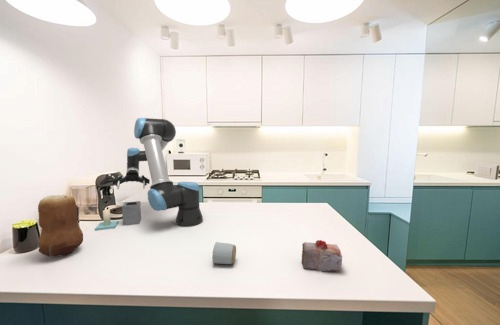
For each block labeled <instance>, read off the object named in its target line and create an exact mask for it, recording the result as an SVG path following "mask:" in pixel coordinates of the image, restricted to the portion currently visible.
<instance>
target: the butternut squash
mask: <svg viewBox="0 0 500 325" xmlns="http://www.w3.org/2000/svg"><path fill="white" fill-rule="evenodd" d="M37 212H38V225H39V227H40V229H41V233H40V235H39V238H38V252H39V253H40V254H42V255H44V256H47V257H52V258H55V257H56V258H57V257H60V256H61V257H62V256H63V257H65V256H68V255H70V254H72V253H73V252H74V251H76V249H78V248H79V247H80V246H81V245H82V244H83V241H84V234H83V231H82V229H81V228H80V226H79V224H78V208H77V203H76V199H75V197H73V196H72V195H70V194H61V195H60V194H59V195H48V196H45V197H43V198H42V199H40V201H39V203H38V205H37Z"/></svg>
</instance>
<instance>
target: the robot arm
mask: <svg viewBox="0 0 500 325" xmlns="http://www.w3.org/2000/svg"><path fill="white" fill-rule="evenodd" d="M133 128H134V130H133V132H134V133H133V135H134V138H135V139H138V140H139V142H140V144H142V145H143V149H144V150H140V148H138V147H130V148H127V151H126V152H127V153H126V174H125V176H123V175H122V174H121V175H119V176H117V178H115V179H113V180H112V185H115V187H116V190H119V189H120V185H122V184H123V183H128V182H132V183H133V182H136V183H141V184H142V186H143V188H142V189H143V190H144V189H145V188H146V187H145V186H148V185H149V184H150V180H151V185H150V187H149V190H148V191H147V199H148V203H149V206H150V207H151V208H152V210H154V211H156V212H159V211H166V210H169V209H173V208H178V211H177V213H176V216H175V225H177V226H180V227H193V226H197V225H199V224H201V223H202V222H204V221H203V220H204V218H203V213H202V211H201V208H200V186H199V183H197V182H194V181H193V182H192V181H178V182H177V185H174V182H173V181H172V180H170V178H169V174H168V169H167V165H166V162H165V157H164V154H163V150H164V149H165V148H166V146H167V145H168V144H169V143H170V142H172V141H173V140H174V139H175V138H176V135H177V134H176V133H177V130H176V127H175V125H174V124H173V123H172V122H171V121H170V120H168V119H165V118H164V119H163V118H149V117H148V118H147V117H138V118H137V119H136V120H135V122H134V127H133ZM140 162H147V166H148V170H149V174H150V178H151V179H149V178H147V177H145V175H141V176H140V175H139V173H140Z"/></svg>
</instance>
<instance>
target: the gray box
mask: <svg viewBox="0 0 500 325" xmlns="http://www.w3.org/2000/svg"><path fill="white" fill-rule="evenodd" d="M141 210H142V208H141V201H140V200H139V201H138V200H137V201H125V202H124V203H123V204H122V205H121V211H122V213H121V214H122V225H123V226H130V225H131V226H132V225H133V226H134V225H140V223H141V221H142V211H141Z"/></svg>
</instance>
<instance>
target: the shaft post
mask: <svg viewBox="0 0 500 325" xmlns="http://www.w3.org/2000/svg"><path fill="white" fill-rule="evenodd" d="M102 219H103V220H102V221H103V222H99V224H98V225H96V227H95V228H94V231H102V230H110V229H111V230H113V229H115V228H116V227H117V225H118V224H119V222H120V221H119V220H111V210H110V209H109V208H108V209H104V210H102Z"/></svg>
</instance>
